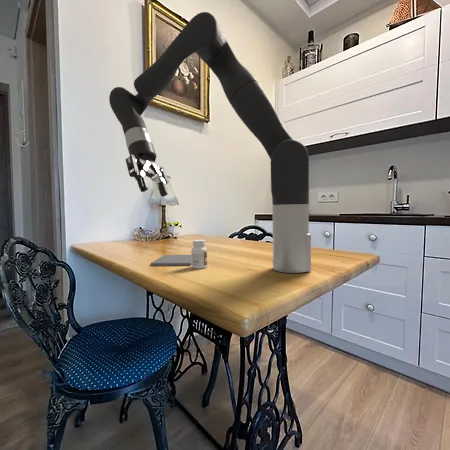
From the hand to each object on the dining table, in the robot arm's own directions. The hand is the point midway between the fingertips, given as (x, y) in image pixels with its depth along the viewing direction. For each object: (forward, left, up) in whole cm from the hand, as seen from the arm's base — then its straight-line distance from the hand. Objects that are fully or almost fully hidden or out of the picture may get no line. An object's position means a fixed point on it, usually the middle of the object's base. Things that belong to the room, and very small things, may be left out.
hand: (155, 193), depth 75 cm
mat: (-4, -7, -21) cm, 23 cm away
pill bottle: (-13, +2, -22) cm, 25 cm away
